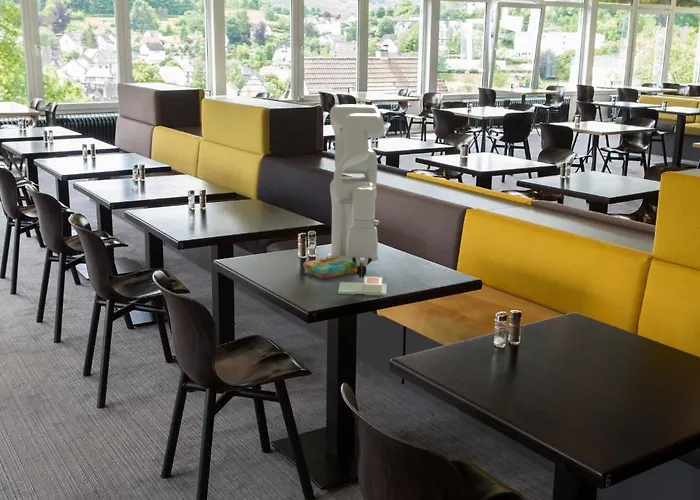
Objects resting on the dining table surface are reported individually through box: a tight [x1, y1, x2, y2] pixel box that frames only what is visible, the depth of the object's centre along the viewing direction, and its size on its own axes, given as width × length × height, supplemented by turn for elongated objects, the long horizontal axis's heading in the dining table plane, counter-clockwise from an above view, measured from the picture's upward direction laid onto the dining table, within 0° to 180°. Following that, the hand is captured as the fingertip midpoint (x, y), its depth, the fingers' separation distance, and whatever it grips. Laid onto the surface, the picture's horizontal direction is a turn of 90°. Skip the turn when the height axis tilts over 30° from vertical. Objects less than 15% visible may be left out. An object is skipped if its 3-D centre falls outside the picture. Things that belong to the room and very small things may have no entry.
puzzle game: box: [302, 255, 364, 279], centre depth 287 cm, size 12×5×20 cm
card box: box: [363, 276, 383, 292], centre depth 266 cm, size 9×3×6 cm
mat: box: [337, 281, 388, 297], centre depth 267 cm, size 11×16×1 cm
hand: (361, 276), depth 266 cm, fingers closed
